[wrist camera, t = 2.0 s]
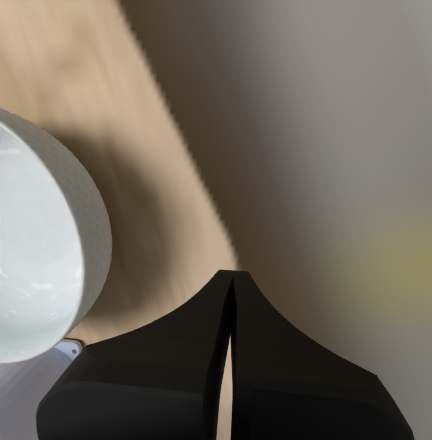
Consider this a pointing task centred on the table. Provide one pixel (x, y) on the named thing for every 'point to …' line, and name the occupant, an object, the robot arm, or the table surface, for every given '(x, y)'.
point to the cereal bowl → (46, 240)
